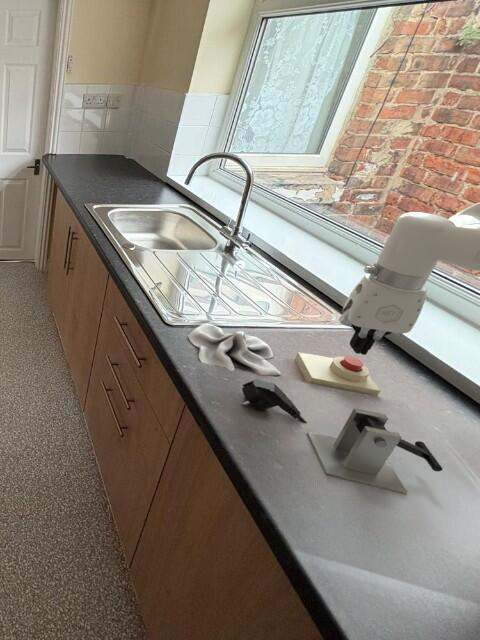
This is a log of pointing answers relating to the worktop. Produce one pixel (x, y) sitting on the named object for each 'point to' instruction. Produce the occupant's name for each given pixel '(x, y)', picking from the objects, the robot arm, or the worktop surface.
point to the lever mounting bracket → (360, 452)
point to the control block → (335, 374)
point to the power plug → (268, 398)
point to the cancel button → (352, 363)
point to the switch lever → (405, 444)
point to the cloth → (232, 350)
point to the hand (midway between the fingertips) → (357, 350)
